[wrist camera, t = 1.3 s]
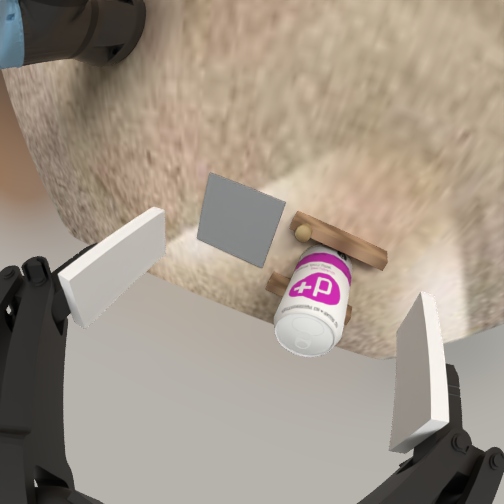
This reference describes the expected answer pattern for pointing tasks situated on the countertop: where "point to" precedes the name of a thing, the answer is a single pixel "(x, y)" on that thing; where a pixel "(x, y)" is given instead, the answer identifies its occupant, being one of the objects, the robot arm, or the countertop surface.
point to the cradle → (333, 238)
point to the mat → (239, 219)
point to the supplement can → (315, 302)
